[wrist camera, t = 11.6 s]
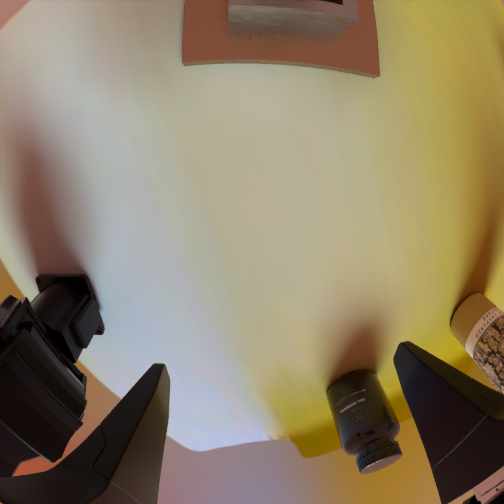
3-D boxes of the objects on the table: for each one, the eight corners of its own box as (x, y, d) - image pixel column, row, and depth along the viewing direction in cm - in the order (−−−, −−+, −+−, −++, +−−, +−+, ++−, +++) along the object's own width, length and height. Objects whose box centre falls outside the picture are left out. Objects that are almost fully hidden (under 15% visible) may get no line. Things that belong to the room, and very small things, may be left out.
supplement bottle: (340, 367, 28) (376, 455, 17) (384, 368, 29) (424, 442, 18) (316, 402, 31) (339, 482, 20) (358, 401, 32) (387, 471, 21)
